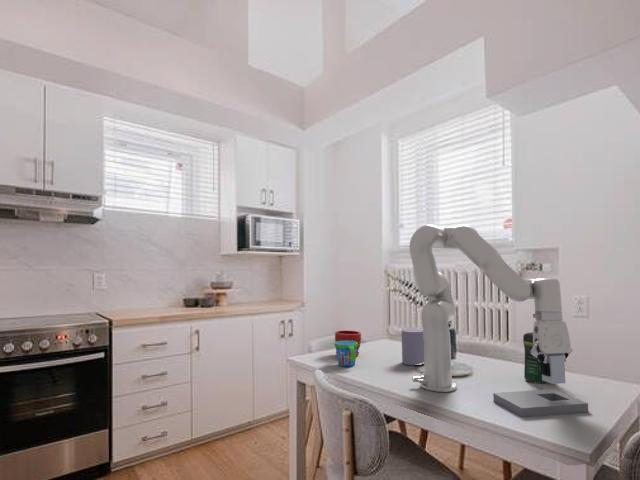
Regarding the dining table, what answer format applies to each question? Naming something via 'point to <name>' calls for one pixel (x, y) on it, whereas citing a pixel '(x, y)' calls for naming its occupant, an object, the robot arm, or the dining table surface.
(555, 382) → the block
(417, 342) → the container
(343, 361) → the snack cup
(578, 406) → the grey board with hole
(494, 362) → the dining table surface
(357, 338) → the plant pot
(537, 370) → the coffee jar
